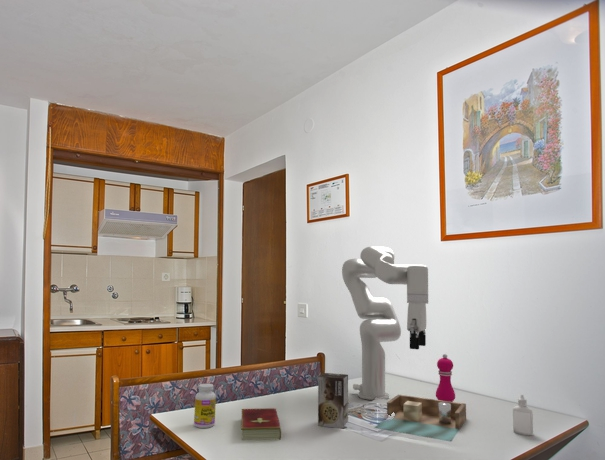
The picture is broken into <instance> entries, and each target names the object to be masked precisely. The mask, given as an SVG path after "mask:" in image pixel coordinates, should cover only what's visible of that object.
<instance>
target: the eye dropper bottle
mask: <svg viewBox="0 0 605 460" xmlns="http://www.w3.org/2000/svg"><path fill="white" fill-rule="evenodd" d="M527 406H528V405H527V399H526V398H525V396H524V394H520V397H518V399H517V405H516V406H514V407H513V408H512V419H513V420H512V421H513V422H512V423H513V424H512V426H513V432H514V433H515V434H518V435H524V436H533V434H534V423H533V422H534V421H533V419H534V418H533V415H534V414H533V409H531V408H530V407H527Z"/></svg>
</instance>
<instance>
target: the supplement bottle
mask: <svg viewBox="0 0 605 460" xmlns="http://www.w3.org/2000/svg"><path fill="white" fill-rule="evenodd" d="M213 390H214V384H213V383H201V384H198V392H197V393H196V394H195V398H194V418H193V419H194V420H193V425H194V427H196V428H199V429H208V428H212V427H213V426H215V424H216V406H217V405H216V404H217V402H216V401H217V395H216V393H215V392H214V391H213Z"/></svg>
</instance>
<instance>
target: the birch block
mask: <svg viewBox="0 0 605 460" xmlns="http://www.w3.org/2000/svg"><path fill="white" fill-rule="evenodd" d="M403 411H404V419H405V420H411V421H419V420H420V419H421V418H422V403H419V402H412V401H407V402H405V403H404V404H403Z"/></svg>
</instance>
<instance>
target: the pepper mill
mask: <svg viewBox="0 0 605 460" xmlns="http://www.w3.org/2000/svg"><path fill="white" fill-rule="evenodd" d="M436 367H437V369H438V375H439V382H438V386H437V388H436V391H435V398H436V400H442V401H449V402H455V401H454V400H456V392H455V389H454V387H453V385H452V382H451V379H452V376H453V374H452V373H453V371H452V370H453V368H454V362H453V361H452V360H451V359H450V358H449V357H448V355H447V353H443V354H442V357H440V358H439V359H438V360H437V362H436Z"/></svg>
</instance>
